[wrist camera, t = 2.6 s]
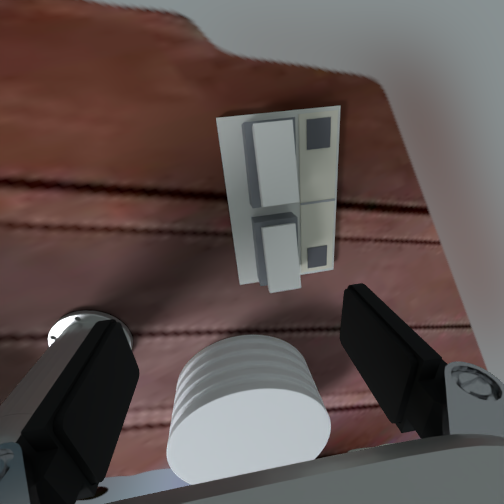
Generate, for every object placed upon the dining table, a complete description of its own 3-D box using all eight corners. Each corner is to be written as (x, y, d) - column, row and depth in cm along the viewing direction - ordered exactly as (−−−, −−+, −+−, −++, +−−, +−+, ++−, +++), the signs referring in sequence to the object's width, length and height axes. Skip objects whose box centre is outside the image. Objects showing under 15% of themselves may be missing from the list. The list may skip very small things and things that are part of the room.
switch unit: (329, 265, 42) (341, 278, 38) (239, 280, 40) (241, 294, 36) (335, 107, 32) (352, 101, 28) (216, 119, 31) (216, 114, 26)
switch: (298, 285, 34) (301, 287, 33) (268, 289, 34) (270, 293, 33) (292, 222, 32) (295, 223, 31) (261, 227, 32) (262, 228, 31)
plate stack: (310, 410, 58) (332, 468, 47) (196, 439, 56) (191, 506, 45) (303, 320, 46) (329, 370, 36) (158, 353, 44) (141, 415, 34)
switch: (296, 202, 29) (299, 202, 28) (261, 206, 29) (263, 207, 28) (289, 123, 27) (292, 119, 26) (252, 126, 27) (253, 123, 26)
